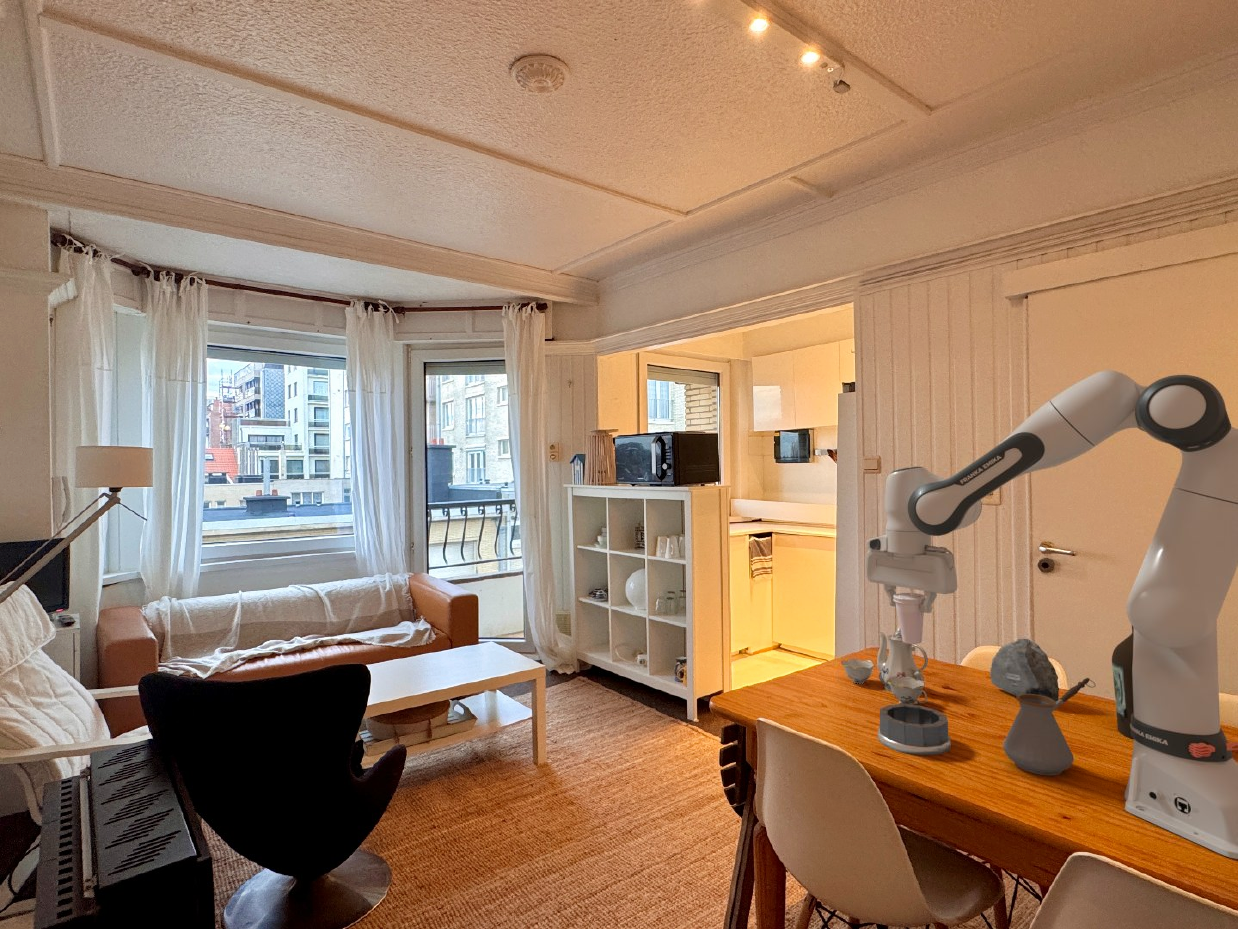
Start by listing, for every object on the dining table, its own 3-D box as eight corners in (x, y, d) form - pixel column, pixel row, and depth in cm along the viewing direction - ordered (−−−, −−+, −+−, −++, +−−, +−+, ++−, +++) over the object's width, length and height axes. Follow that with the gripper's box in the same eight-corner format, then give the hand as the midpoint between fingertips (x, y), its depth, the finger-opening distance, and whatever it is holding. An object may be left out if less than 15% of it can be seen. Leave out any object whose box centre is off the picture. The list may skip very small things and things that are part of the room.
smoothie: (932, 645, 135) (928, 578, 135) (899, 645, 137) (894, 578, 137) (924, 637, 142) (920, 572, 142) (893, 637, 143) (889, 573, 143)
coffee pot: (1045, 785, 119) (1042, 701, 119) (989, 760, 129) (987, 683, 130) (1123, 764, 126) (1121, 685, 126) (1064, 742, 137) (1062, 669, 137)
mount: (965, 752, 133) (965, 725, 133) (901, 758, 131) (900, 730, 131) (924, 726, 147) (923, 701, 147) (865, 731, 145) (865, 706, 145)
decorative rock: (1063, 707, 156) (1061, 644, 156) (1040, 711, 154) (1038, 647, 155) (1007, 686, 172) (1005, 629, 172) (985, 689, 170) (984, 631, 170)
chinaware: (831, 686, 180) (824, 626, 180) (875, 671, 187) (869, 613, 187) (915, 719, 155) (908, 650, 155) (963, 701, 162) (956, 634, 162)
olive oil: (1172, 731, 141) (1168, 614, 142) (1183, 749, 132) (1179, 624, 132) (1110, 722, 147) (1107, 610, 147) (1117, 739, 137) (1113, 619, 138)
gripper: (963, 546, 132) (965, 616, 131) (879, 539, 150) (881, 599, 150) (942, 549, 129) (944, 620, 128) (860, 540, 147) (861, 603, 147)
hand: (910, 609), depth 139 cm, fingers closed on smoothie, 6 cm apart
